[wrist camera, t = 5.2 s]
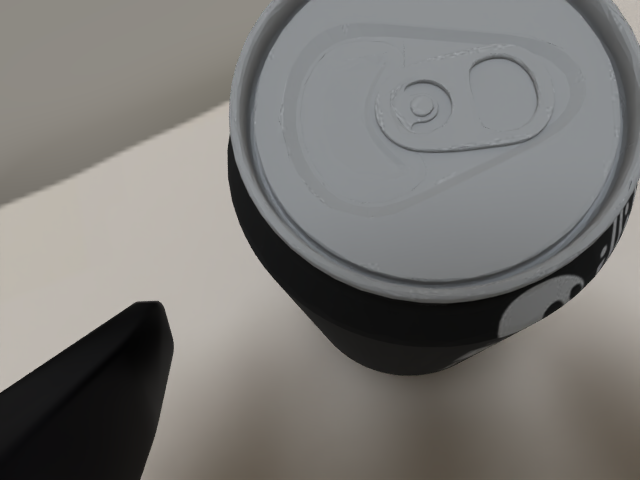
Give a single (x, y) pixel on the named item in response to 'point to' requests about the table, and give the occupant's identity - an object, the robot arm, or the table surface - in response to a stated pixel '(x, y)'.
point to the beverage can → (434, 165)
